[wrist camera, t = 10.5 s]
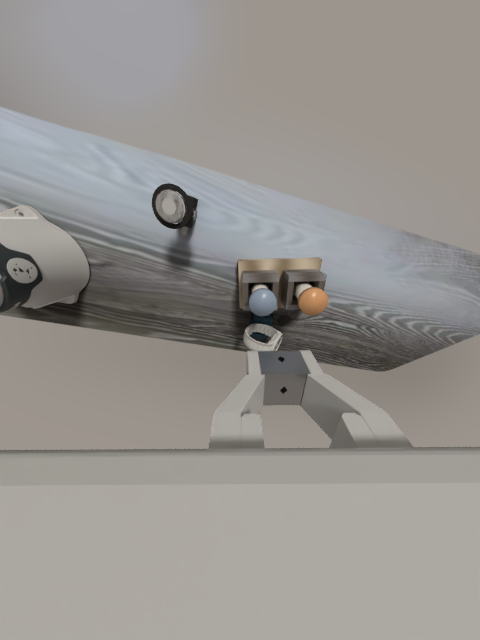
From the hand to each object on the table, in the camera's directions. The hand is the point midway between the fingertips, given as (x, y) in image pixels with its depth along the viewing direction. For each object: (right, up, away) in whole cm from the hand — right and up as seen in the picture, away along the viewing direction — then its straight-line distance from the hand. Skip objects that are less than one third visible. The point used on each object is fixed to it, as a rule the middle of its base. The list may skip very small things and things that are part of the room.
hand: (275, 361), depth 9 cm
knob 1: (+2, +9, +28) cm, 30 cm away
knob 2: (+10, +9, +28) cm, 31 cm away
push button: (-11, +21, +25) cm, 34 cm away
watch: (+3, +2, +35) cm, 35 cm away
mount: (+6, +10, +30) cm, 32 cm away
